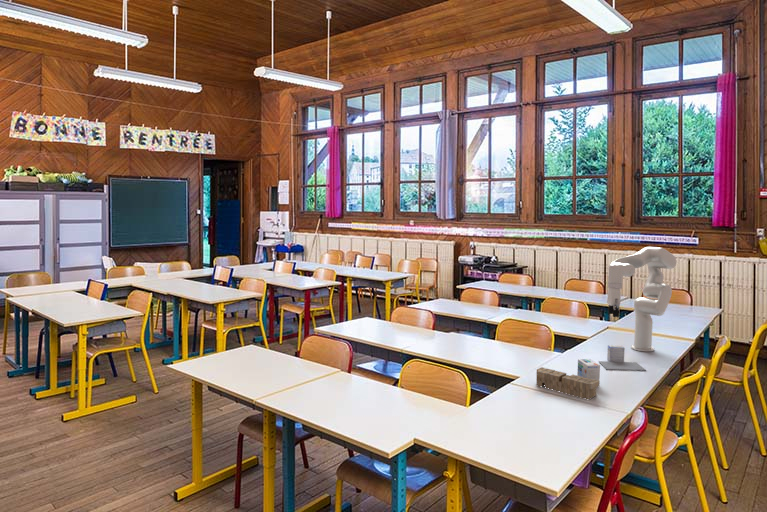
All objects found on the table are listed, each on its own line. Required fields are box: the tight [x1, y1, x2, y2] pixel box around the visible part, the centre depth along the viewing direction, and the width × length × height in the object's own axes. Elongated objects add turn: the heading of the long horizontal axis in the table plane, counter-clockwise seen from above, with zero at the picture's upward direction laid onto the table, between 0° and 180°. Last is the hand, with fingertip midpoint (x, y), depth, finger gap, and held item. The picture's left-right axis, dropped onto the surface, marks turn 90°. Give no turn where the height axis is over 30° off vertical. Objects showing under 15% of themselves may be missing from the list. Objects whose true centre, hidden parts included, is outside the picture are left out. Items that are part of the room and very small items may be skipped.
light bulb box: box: [577, 358, 601, 381], centre depth 262 cm, size 11×7×11 cm, turn 5°
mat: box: [598, 360, 647, 372], centre depth 290 cm, size 14×20×1 cm
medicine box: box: [606, 344, 626, 362], centre depth 299 cm, size 8×4×9 cm, turn 84°
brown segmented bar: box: [536, 367, 600, 400], centre depth 252 cm, size 8×8×29 cm
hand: (613, 315), depth 305 cm, fingers open, 9 cm apart
